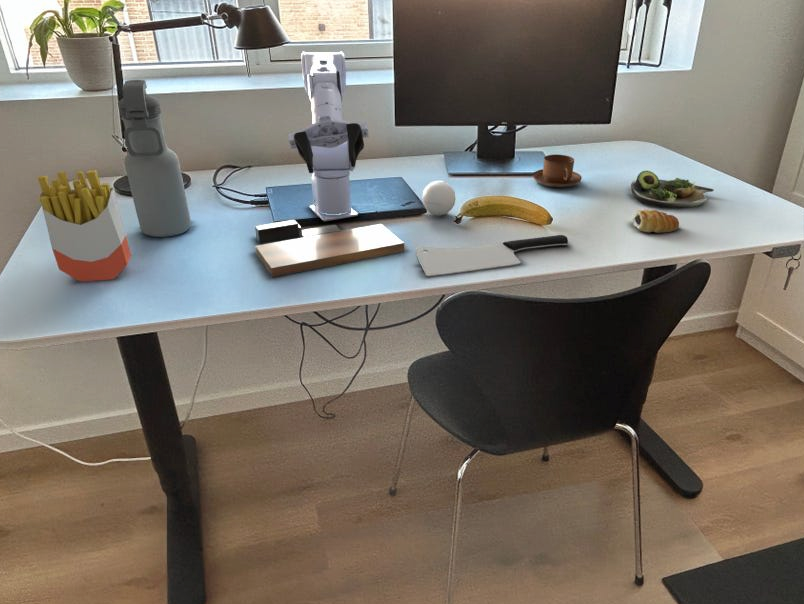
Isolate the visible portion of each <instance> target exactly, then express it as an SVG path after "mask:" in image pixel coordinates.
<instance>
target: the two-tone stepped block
mask: <svg viewBox="0 0 804 604" xmlns="http://www.w3.org/2000/svg"><path fill="white" fill-rule="evenodd" d="M254 230H255V236H256V240H257V242H258V243H259V244H267V243H272V242H278V241H284V240H290V239H295V238H303V237H308V236H314V235H320V234H326V233H331V232H337V231H342V230H341V228H340V227H338V225H337V224H330V225H325V226H319V227H313V228H306V229H303V228H302V226H301V225H300V224H299V223H298V222H297V221H296V220H295V219H289V220H285V221H284V220H283V221H278V222H273V223H265V224H260V225H254Z"/></svg>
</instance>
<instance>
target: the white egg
mask: <svg viewBox="0 0 804 604" xmlns="http://www.w3.org/2000/svg"><path fill="white" fill-rule="evenodd" d="M421 195H422V197H421V199H418V200H417V201H415V203H417V202H419V201H421V202H422V205H423V207H424V209H425V210H426V211H427V212H428V213H430V214H431V215H434V216H443V215H446V214H448V213H449V212H451V210H453V208H454V206H455V203H456V199H457V198H456V192H455V190H454V188H453V187H452V186H451V185H450V184H449V183H448V182H445V181H443V180H434V181H431V182H429V184H428V185H426V186H425V188H424V189H423V191H422V194H421Z"/></svg>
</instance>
